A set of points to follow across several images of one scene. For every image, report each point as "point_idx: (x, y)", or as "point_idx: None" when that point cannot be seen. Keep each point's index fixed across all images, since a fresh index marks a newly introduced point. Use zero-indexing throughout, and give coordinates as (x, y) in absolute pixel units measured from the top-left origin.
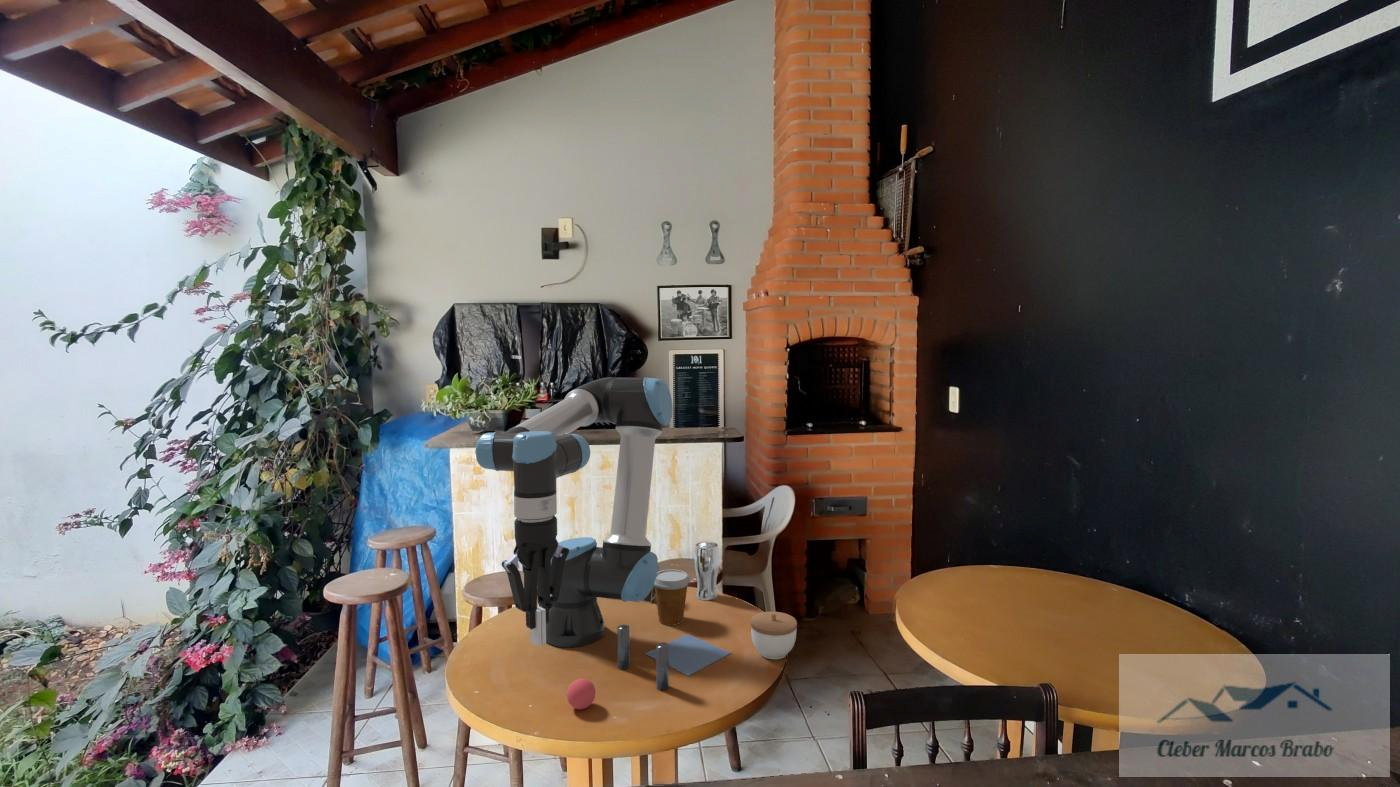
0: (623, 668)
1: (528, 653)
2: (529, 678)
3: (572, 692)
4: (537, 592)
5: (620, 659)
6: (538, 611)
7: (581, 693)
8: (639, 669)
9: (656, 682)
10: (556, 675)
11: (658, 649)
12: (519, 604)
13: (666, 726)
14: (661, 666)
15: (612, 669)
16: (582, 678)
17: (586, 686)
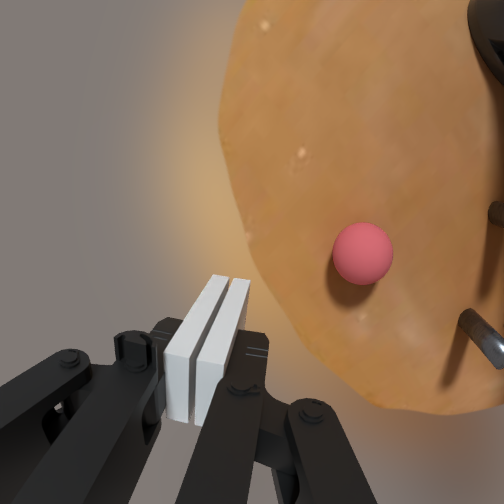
0: (490, 220)
1: (423, 7)
2: (369, 71)
3: (338, 259)
4: (198, 437)
5: (499, 217)
6: (174, 417)
7: (346, 277)
8: (499, 245)
9: (467, 317)
10: (411, 112)
11: (494, 358)
12: (47, 413)
13: (377, 387)
14: (478, 346)
15: (482, 200)
16: (381, 254)
17: (364, 280)
